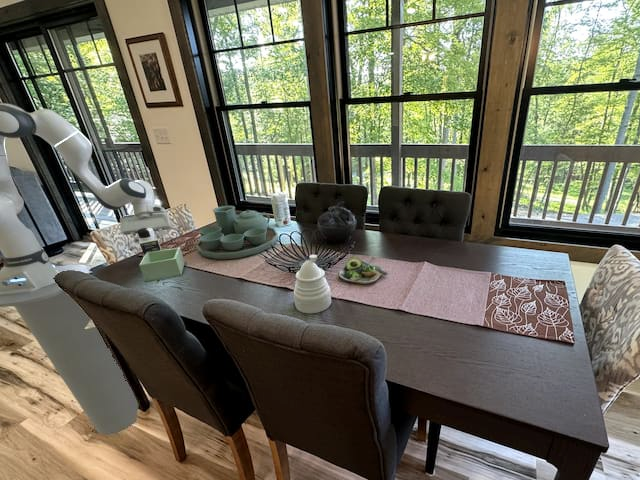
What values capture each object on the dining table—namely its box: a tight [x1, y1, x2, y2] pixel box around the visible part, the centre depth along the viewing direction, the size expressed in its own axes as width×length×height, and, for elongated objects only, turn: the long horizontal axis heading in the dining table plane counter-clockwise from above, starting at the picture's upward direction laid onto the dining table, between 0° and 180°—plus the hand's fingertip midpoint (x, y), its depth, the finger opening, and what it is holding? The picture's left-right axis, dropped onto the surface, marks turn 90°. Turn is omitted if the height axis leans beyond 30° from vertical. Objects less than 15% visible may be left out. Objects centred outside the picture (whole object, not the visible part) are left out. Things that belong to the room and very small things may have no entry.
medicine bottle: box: [137, 228, 162, 257], centre depth 144 cm, size 7×7×12 cm
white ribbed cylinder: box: [270, 191, 292, 228], centre depth 185 cm, size 8×9×19 cm
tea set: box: [195, 205, 279, 260], centre depth 160 cm, size 40×40×16 cm
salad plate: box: [338, 257, 389, 285], centre depth 128 cm, size 19×18×5 cm
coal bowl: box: [317, 201, 357, 242], centre depth 160 cm, size 20×20×19 cm
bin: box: [138, 246, 186, 282], centre depth 137 cm, size 14×14×8 cm
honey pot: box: [293, 254, 332, 314], centre depth 108 cm, size 13×13×18 cm
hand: (148, 239), depth 143 cm, fingers closed on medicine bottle, 7 cm apart
